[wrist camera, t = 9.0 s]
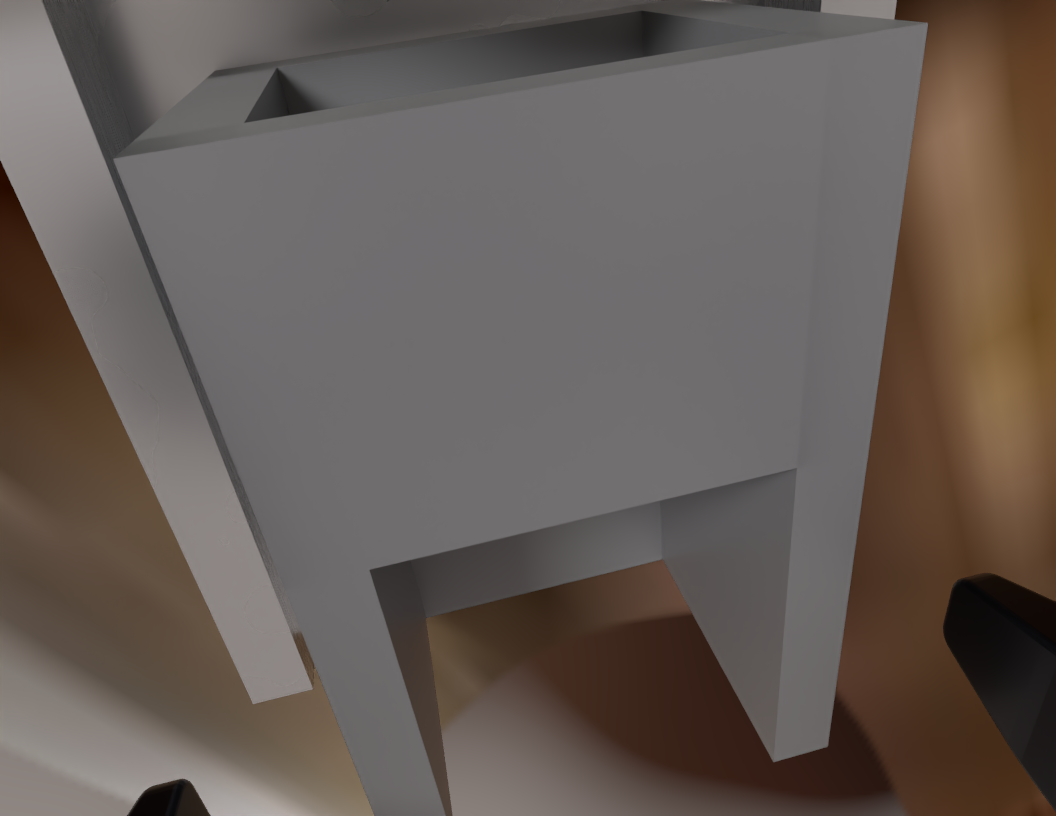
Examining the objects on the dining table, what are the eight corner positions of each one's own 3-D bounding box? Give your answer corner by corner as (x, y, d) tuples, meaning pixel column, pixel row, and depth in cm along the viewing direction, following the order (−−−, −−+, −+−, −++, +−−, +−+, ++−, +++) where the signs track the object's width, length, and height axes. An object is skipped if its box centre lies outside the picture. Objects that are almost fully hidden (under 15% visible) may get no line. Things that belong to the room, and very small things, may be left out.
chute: (679, -2, 10) (927, 23, 6) (686, 522, 15) (827, 746, 10) (215, 70, 9) (113, 158, 5) (379, 597, 14) (396, 869, 10)
